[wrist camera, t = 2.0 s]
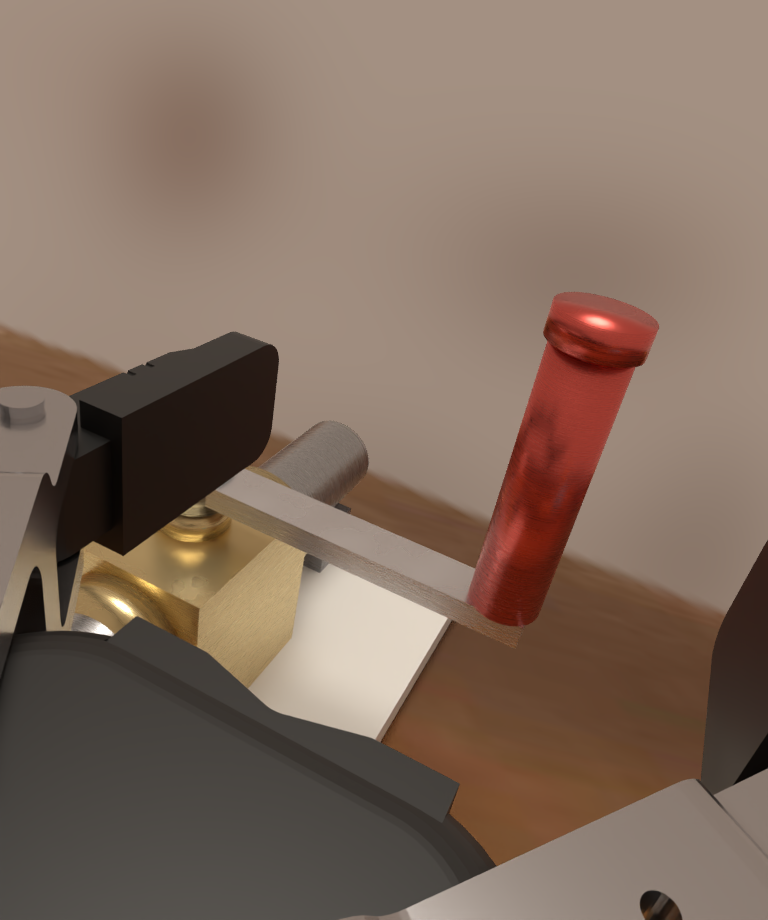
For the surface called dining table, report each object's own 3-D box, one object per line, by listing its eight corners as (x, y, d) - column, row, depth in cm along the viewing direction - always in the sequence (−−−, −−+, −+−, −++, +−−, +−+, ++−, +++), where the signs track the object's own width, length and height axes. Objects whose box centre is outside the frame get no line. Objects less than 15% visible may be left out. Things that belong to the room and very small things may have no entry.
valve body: (-150, 867, 26) (-219, 679, 21) (278, 501, 48) (295, 369, 43) (-1, 978, 24) (-38, 800, 19) (372, 543, 46) (401, 409, 41)
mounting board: (-257, 802, 28) (-268, 778, 28) (205, 477, 52) (206, 459, 51) (159, 1117, 23) (160, 1099, 22) (467, 594, 46) (472, 576, 45)
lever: (138, 496, 30) (139, 181, 24) (187, 464, 33) (200, 171, 26) (520, 676, 25) (651, 345, 19) (542, 621, 28) (665, 313, 22)
